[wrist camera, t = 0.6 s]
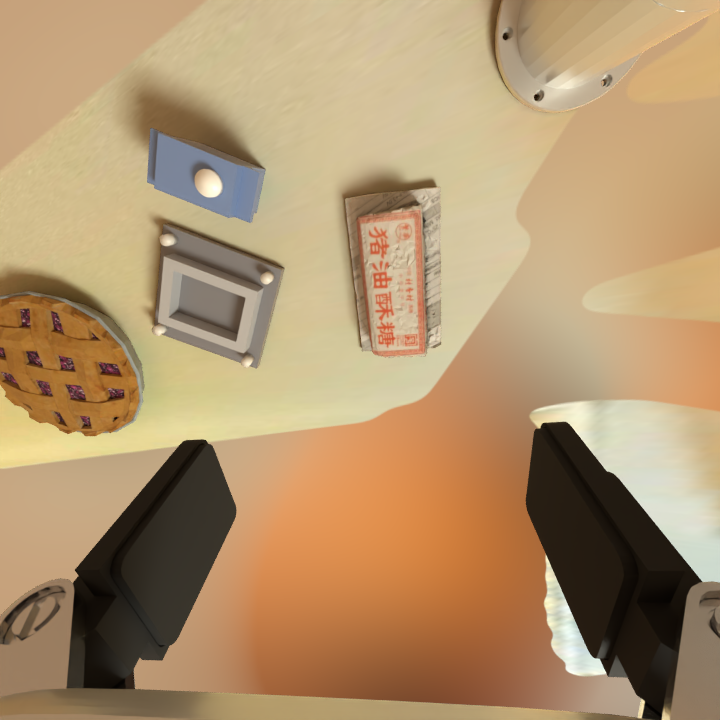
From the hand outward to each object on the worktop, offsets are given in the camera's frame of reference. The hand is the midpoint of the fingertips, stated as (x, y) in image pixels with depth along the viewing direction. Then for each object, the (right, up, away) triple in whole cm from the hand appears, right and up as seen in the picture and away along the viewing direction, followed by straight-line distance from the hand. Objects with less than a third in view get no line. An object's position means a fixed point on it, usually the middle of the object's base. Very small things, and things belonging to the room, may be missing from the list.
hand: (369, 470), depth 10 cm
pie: (-40, +3, +39) cm, 56 cm away
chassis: (-18, +11, +33) cm, 39 cm away
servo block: (-14, +23, +26) cm, 38 cm away
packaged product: (+4, +13, +30) cm, 33 cm away
